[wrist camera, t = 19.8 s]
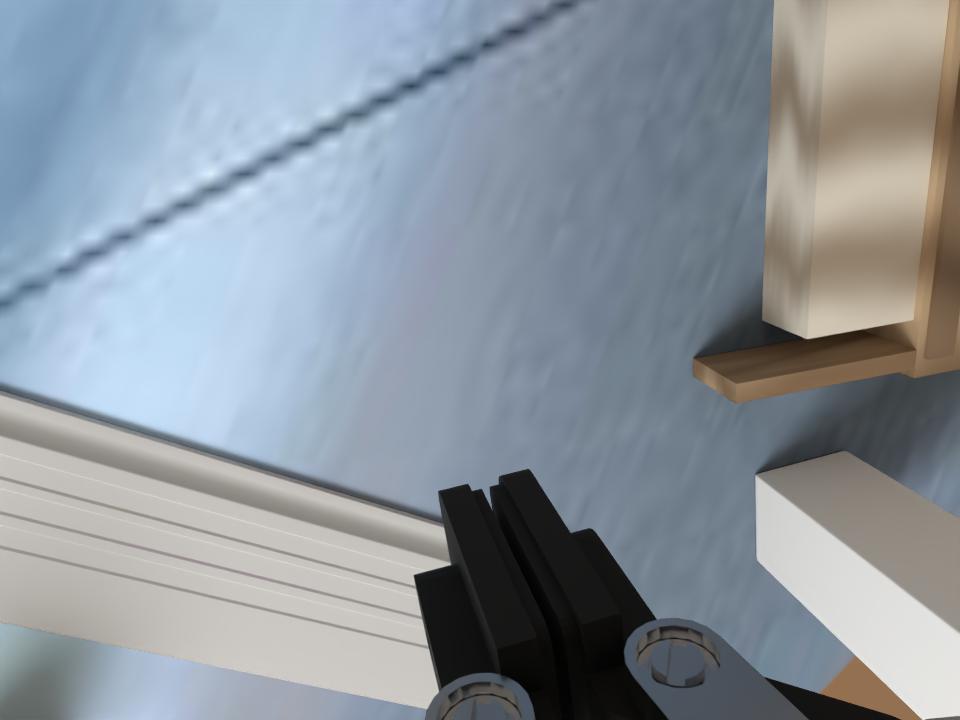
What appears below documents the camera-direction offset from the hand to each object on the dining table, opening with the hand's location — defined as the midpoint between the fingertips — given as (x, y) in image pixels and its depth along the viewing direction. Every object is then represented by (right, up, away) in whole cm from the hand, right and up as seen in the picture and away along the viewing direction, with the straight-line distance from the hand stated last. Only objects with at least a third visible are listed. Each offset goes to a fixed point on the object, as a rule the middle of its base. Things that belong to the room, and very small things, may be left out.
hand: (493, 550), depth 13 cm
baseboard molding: (-12, -6, +23) cm, 27 cm away
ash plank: (+17, +15, +22) cm, 32 cm away
